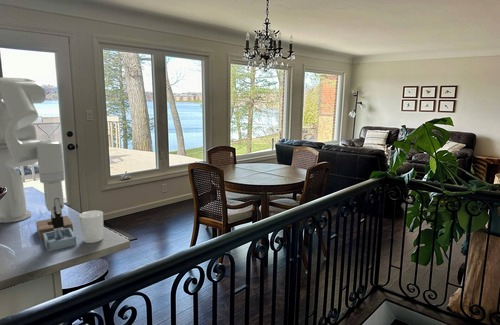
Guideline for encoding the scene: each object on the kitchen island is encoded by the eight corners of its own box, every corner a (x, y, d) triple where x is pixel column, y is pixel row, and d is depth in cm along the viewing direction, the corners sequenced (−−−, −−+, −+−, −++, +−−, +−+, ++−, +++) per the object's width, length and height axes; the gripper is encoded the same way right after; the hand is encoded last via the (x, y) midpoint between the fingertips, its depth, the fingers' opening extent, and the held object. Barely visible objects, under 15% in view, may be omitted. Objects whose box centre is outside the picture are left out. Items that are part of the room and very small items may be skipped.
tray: (43, 240, 124) (42, 233, 123) (71, 234, 129) (70, 227, 129) (47, 251, 115) (46, 243, 115) (76, 244, 121) (75, 237, 120)
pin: (54, 239, 122) (50, 209, 120) (63, 237, 124) (60, 207, 122) (55, 242, 120) (51, 211, 118) (65, 240, 122) (61, 209, 120)
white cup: (106, 241, 124) (104, 215, 122) (82, 245, 120) (79, 219, 118) (103, 233, 131) (101, 209, 129) (81, 237, 127) (78, 212, 125)
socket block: (37, 230, 133) (36, 221, 132) (68, 224, 139) (67, 215, 138) (40, 240, 124) (39, 230, 123) (73, 233, 131) (72, 223, 130)
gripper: (37, 173, 122) (43, 221, 125) (42, 183, 109) (49, 236, 112) (60, 170, 126) (65, 217, 130) (68, 179, 113) (73, 230, 117)
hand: (57, 225), depth 121 cm, fingers closed on pin, 3 cm apart
